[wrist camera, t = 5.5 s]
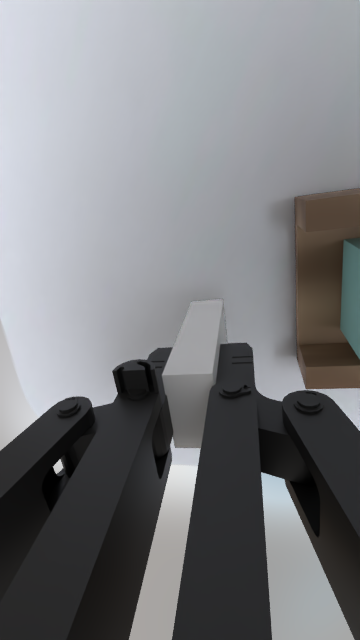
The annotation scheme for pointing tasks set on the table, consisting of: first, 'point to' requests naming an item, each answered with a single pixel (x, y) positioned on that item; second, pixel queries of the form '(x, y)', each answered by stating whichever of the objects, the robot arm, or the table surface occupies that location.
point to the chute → (324, 287)
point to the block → (351, 293)
